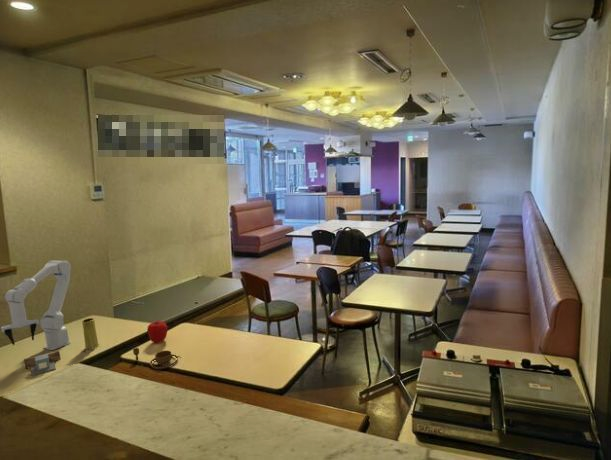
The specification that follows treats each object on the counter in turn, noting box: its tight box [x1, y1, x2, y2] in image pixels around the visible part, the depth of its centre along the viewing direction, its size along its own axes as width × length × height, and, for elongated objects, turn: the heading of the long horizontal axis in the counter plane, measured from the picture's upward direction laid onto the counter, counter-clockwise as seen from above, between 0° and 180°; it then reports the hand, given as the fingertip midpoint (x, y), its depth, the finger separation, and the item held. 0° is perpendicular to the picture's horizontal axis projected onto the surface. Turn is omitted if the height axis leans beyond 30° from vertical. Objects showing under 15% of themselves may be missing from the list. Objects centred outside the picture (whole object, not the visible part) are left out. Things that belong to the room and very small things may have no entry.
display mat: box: [31, 361, 57, 377], centre depth 190 cm, size 9×9×1 cm
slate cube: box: [34, 353, 50, 371], centre depth 189 cm, size 5×5×5 cm
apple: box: [147, 320, 168, 344], centre depth 211 cm, size 10×10×11 cm
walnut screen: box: [23, 350, 61, 369], centre depth 195 cm, size 14×2×4 cm, turn 123°
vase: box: [81, 317, 100, 350], centre depth 209 cm, size 6×6×14 cm
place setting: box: [132, 347, 179, 370], centre depth 191 cm, size 18×20×6 cm
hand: (23, 341), depth 198 cm, fingers open, 7 cm apart
